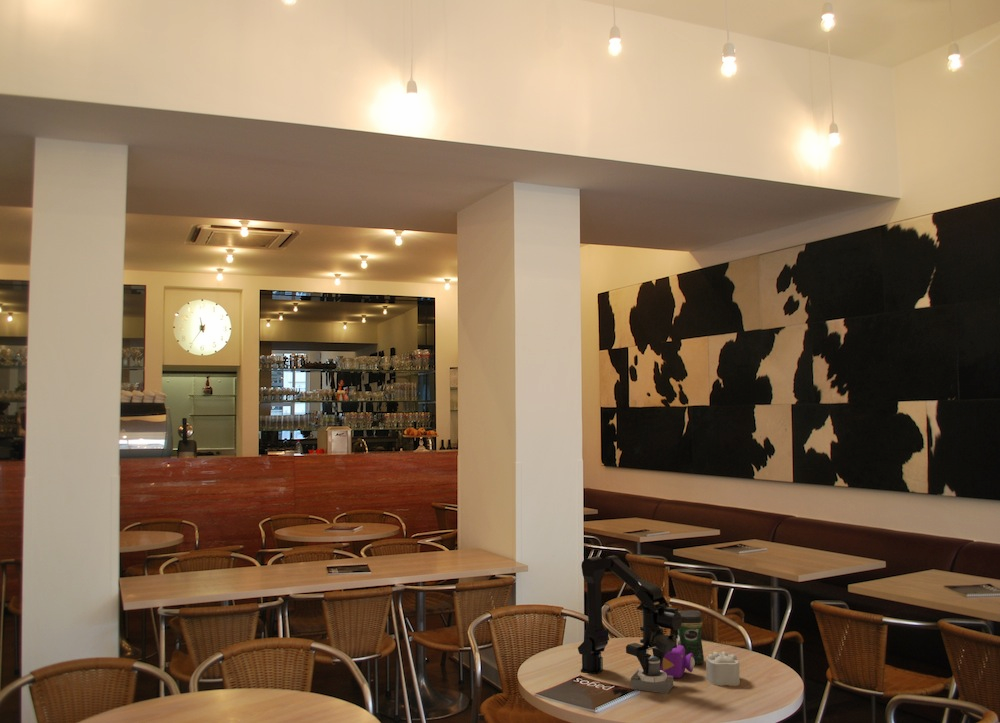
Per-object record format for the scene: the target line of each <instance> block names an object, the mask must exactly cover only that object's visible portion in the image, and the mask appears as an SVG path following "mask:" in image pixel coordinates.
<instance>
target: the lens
mask: <svg viewBox="0 0 1000 723" xmlns="http://www.w3.org/2000/svg"><path fill="white" fill-rule="evenodd" d="M645 676H653V677H655V676H660V658H659V657H657V656H653V655H651V656H650V658H649V663H648V674H645Z"/></svg>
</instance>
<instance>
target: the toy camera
mask: <svg viewBox="0 0 1000 723" xmlns="http://www.w3.org/2000/svg"><path fill="white" fill-rule="evenodd" d="M695 666H696V665H695V661H694V658H693V654H692V653H690V654H688V655H687V656H685V648H684V646H682V645H677V648H673V649H672V651H671V652H670V651H669V652H667V653H666V654H665V655H664V658H663V661H662V664H661V667H660V670H662V671H664V672H666V673H667V675H669V676H673V679H674V678H675V679H678V678H681V677H682V676H683V675H684V673H685V670H687V671H688V672H690V673H693V669H694V667H695Z"/></svg>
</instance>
